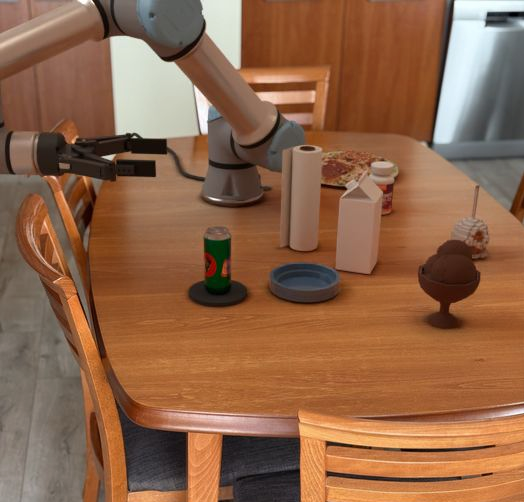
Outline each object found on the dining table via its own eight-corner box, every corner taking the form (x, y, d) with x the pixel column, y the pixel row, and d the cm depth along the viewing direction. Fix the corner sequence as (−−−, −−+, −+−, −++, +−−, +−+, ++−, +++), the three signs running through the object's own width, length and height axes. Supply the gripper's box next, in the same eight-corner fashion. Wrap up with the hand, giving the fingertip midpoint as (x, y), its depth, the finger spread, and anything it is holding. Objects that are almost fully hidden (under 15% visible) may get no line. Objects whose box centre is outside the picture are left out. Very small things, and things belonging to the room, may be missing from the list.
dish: (255, 287, 165) (255, 274, 163) (304, 269, 173) (304, 256, 171) (304, 310, 156) (304, 296, 155) (353, 290, 164) (354, 277, 163)
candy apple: (474, 264, 177) (485, 194, 169) (442, 253, 181) (450, 185, 174) (493, 253, 182) (504, 185, 175) (461, 244, 186) (470, 177, 179)
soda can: (227, 297, 159) (227, 236, 153) (201, 294, 160) (200, 233, 154) (234, 286, 163) (234, 226, 157) (208, 283, 164) (207, 224, 158)
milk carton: (377, 262, 177) (385, 172, 168) (369, 275, 171) (377, 182, 162) (343, 257, 179) (349, 168, 170) (334, 270, 173) (340, 178, 164)
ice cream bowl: (405, 309, 157) (413, 232, 150) (464, 307, 158) (475, 231, 151) (419, 336, 148) (429, 255, 141) (482, 334, 149) (495, 254, 142)
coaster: (177, 292, 162) (177, 289, 162) (221, 277, 169) (221, 273, 168) (214, 312, 155) (214, 308, 155) (259, 295, 162) (259, 291, 161)
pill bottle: (373, 216, 201) (377, 169, 195) (360, 208, 206) (364, 162, 200) (396, 213, 203) (400, 166, 197) (383, 205, 208) (386, 159, 202)
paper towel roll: (321, 244, 185) (326, 146, 175) (311, 254, 180) (316, 153, 170) (291, 238, 187) (294, 141, 177) (279, 248, 183) (282, 148, 172)
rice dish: (368, 201, 214) (370, 180, 211) (274, 176, 226) (275, 156, 223) (414, 173, 234) (417, 154, 232) (326, 153, 247) (328, 134, 244)
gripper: (60, 155, 163) (171, 158, 162) (23, 197, 141) (151, 201, 141) (56, 115, 159) (170, 118, 159) (17, 152, 138) (149, 156, 137)
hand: (161, 157), depth 150 cm, fingers open, 13 cm apart
